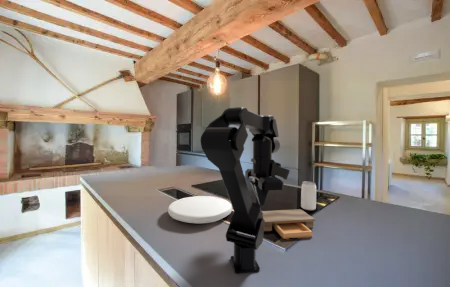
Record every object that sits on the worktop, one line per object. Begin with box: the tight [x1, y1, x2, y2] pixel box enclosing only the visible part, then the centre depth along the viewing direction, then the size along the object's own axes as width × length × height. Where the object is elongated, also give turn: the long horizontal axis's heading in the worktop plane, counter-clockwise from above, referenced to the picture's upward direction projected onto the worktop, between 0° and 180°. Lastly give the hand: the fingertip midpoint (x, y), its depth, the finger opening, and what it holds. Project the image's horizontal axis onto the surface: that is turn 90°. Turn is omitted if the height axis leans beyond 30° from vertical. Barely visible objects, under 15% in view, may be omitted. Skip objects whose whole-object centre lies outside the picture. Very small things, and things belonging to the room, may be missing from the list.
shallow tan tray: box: [272, 222, 313, 240], centre depth 75 cm, size 14×10×2 cm
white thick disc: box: [167, 195, 233, 225], centre depth 88 cm, size 28×6×27 cm
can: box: [300, 180, 317, 211], centre depth 96 cm, size 6×6×12 cm
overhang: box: [261, 208, 316, 232], centre depth 79 cm, size 10×20×3 cm, turn 99°
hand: (261, 205), depth 65 cm, fingers closed
